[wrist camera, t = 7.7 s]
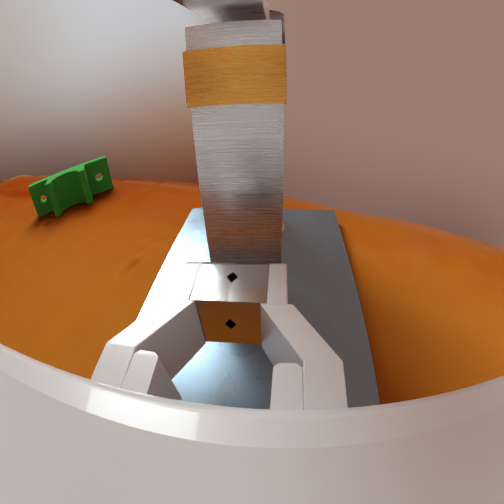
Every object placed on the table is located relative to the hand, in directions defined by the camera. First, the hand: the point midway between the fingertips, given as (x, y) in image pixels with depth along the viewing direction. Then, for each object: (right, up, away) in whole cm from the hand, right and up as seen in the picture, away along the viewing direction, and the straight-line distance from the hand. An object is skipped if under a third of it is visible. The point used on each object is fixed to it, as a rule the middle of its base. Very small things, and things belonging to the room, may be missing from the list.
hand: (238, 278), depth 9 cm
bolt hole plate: (+1, -2, +8) cm, 8 cm away
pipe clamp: (-22, +7, +21) cm, 31 cm away
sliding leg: (0, -1, +6) cm, 7 cm away
